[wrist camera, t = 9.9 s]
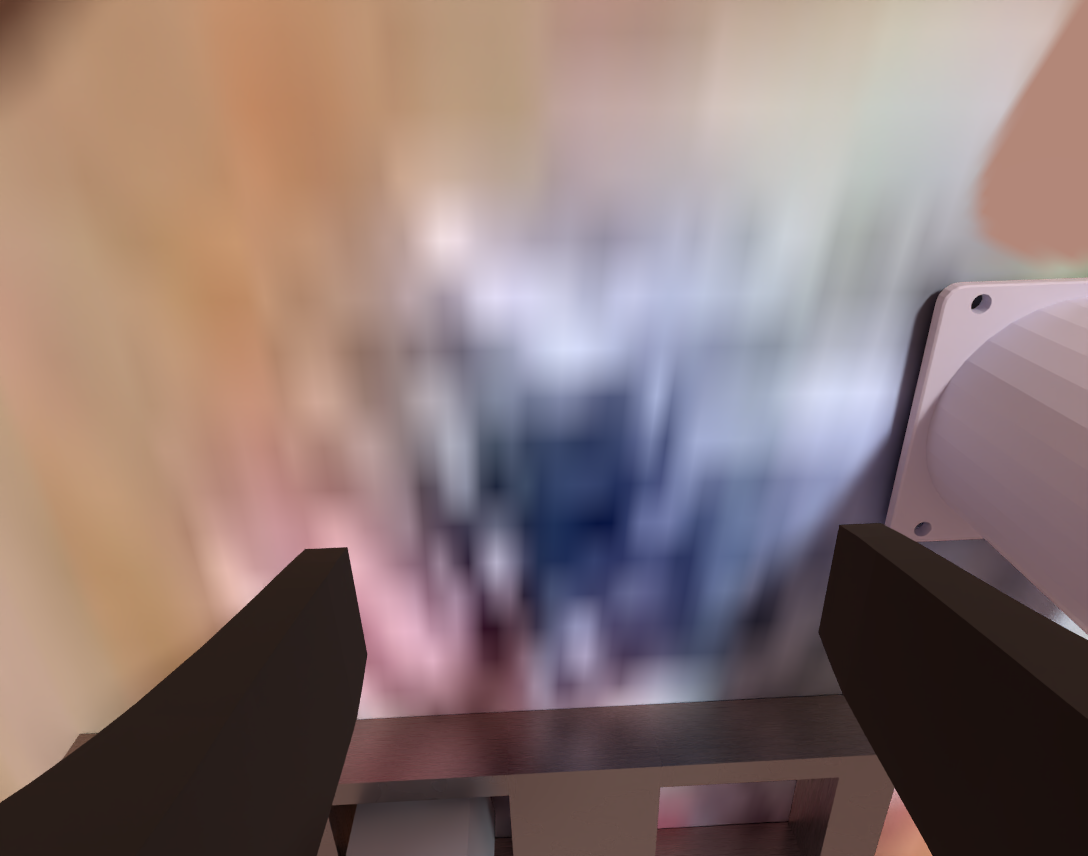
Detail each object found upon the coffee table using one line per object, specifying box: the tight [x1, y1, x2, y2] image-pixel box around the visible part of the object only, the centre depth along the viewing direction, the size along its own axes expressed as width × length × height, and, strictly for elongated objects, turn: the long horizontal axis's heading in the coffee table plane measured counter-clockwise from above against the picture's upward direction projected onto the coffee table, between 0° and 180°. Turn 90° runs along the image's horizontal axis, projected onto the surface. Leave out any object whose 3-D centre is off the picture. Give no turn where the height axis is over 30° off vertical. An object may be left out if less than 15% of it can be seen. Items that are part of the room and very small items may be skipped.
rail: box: [62, 695, 895, 856], centre depth 25 cm, size 28×8×2 cm, turn 92°
